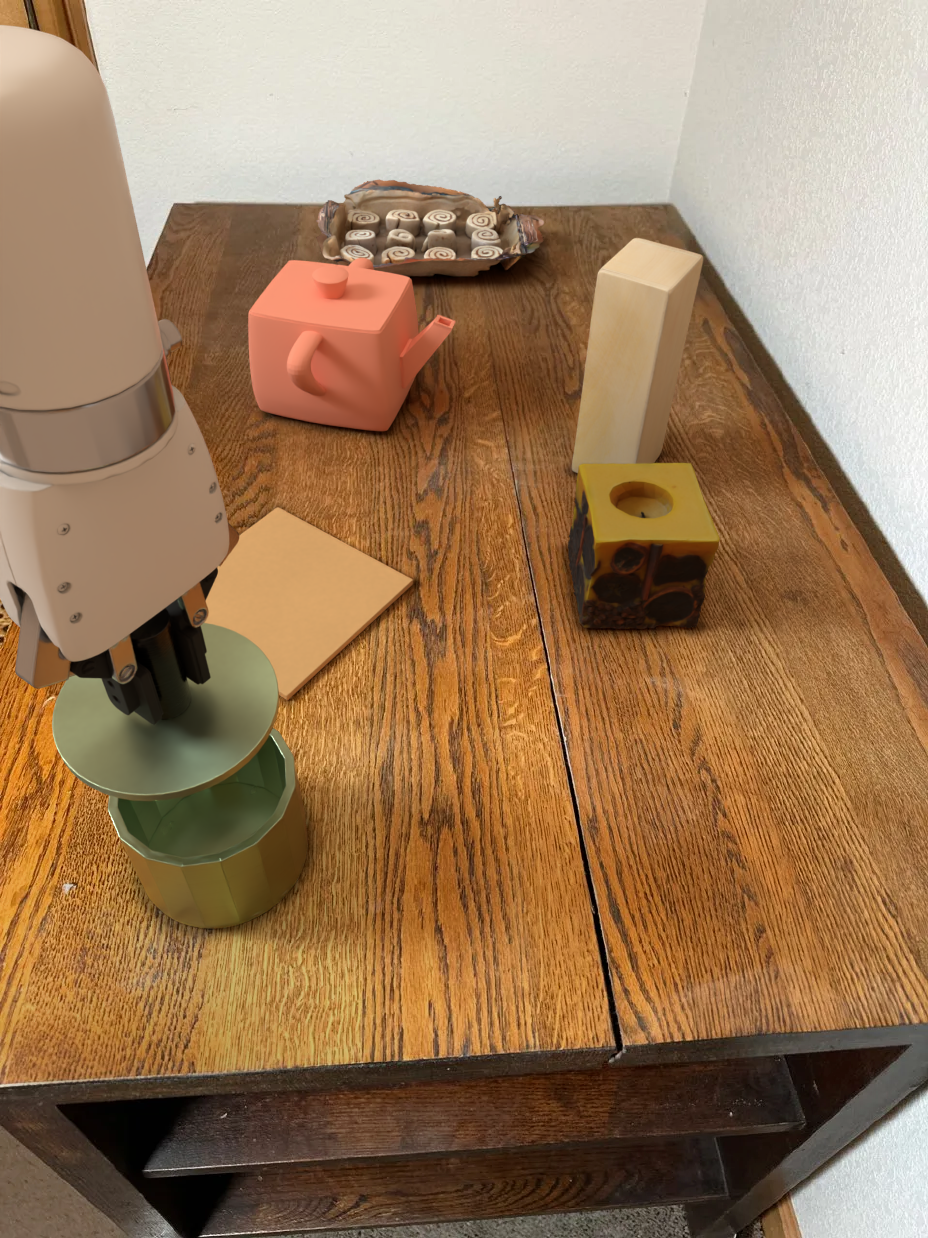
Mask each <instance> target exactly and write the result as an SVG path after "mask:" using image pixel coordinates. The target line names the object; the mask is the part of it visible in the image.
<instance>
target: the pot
mask: <svg viewBox="0 0 928 1238" xmlns="http://www.w3.org/2000/svg"><path fill="white" fill-rule="evenodd" d="M107 812H108V815H109V817H110V819H111V822H112V824H113V826H114V829H115V831H116V834H117V836H118V839H119V841H120V842H121V845H122V847H123V849H124V850H125V853H126V855H127V857H128V860H129V861H130V863H131V866H132V867H133V869H134V872H135V873H136V876H137V878H138V879H139V881H140V883H141V886H142V887H143V890H144V892H145V894H146V896H147V898H148V900H149V901H150V902H152V903H153V905H154V906H155V907H156V908H157V910H159V911H160V912H161V913H163V914H164V915H165V916H167V917H168V918H170V919H171V920H173V921H176V922H178V923H180V924H183V925H185V926H189V927H194V928H199V929H210V930H211V929H227V928H229V927H235V926H238V925H239V926H240V925H242V924H244V923H248V922H250V921H253V920H254V919H257V918H259V917H260V916H262V915H263V914H265V913H267V912H269V911H270V910H271V909H272V908H274V907H275V906H276V905H278V904H279V903H280V902H281V901H282V900H283V899H284V898H285V897H286V896H287V895H288V893H289V892H290V891H291V890H292V889H293V887H294V886H295V884H296V883H297V881H298V879H299V878H300V876H301V875H302V871H303V869H304V867H305V863H306V859H307V856H308V850H309V837H308V828H307V818H306V813H305V807H304V803H303V797H302V792H301V787H300V781H299V776H298V770H297V765H296V759H295V757H294V754H293V752H292V751H291V748H290V747H289V746H288V744H287V741H285V739H284V737H283V736H282V734H281V732H280V731H278V730H277V729H276V728H274V727H273V729H272V731H271V733H270V735H269V737H268V738H267V740H266V742H265V743H264V745H263V746H262V747H261V749H260V750H259V751H258V752H257V754H256V755H255V756H254V757H253V758H252V759H251V760H250V761H249V762H248V763H247V764H245V765H244V766H243V767H242V768H241V769H239V770H238V771H237V772H236V773H234V774H233V775H231V776H230V777H228V778H227V779H225V780H223V781H221V782H219V783H218V784H216V785H214V786H212V787H210V788H207V789H205V790H202V791H199V792H197V793H194V794H190V795H187V796H183V797H180V798H174V799H168V800H158V801H136V800H128V799H122V798H117V797H114V796H110V795H108V803H107Z"/></svg>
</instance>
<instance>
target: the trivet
mask: <svg viewBox="0 0 928 1238" xmlns="http://www.w3.org/2000/svg"><path fill="white" fill-rule="evenodd" d="M217 568H218V574H217V577H216V579H215V581H214V584H213V586H212V588H211V590H210V592H209V594H208V597H207V599H206V604H207V607H208V611H209V614H208V617H207V619H206V621H205V622H204V623H208V624H214V625H217V626H221V627H225V628H227V629H230V630H232V631H235V632H237V633H239V634H241V635H242V636H244V637H246V638H247V639H249V640H250V641H252V642H253V643H254V644H255V645H256V646H257V647H258V648H260V649H261V650H262V651H263V653H264V654H265V655H266V657H267V658H268V659H269V661H270V663H271V665H272V667H273V669H274V671H275V675H276V678H277V682H278V689H279V697H281V698H283V699H284V700H285V701H289V700H290V699H291V698H292V697H293V696H294V695H296V693H298V691H300V690H301V689H302V688H303V687H304V686H305V685H306V684H307V683H308V682H309V681H310V680H311V679H313V678H314V676H316V675H317V674H318V673H319V672H320V671H321V670H322V669H323V668H325V667H326V665H328V664H329V663H330V662H331V661H332V660H333V659H334V658H335V657H336V656H337V655H339V653H341V652H342V651H343V650H344V649H345V648H346V647H347V646H348V645H349V644H350V643H352V641H353V640H355V639H356V638H357V637H358V636H359V635H360V634H361V633H362V632H363V631H364V630H366V628H367V627H369V626H370V625H371V624H372V623H373V622H374V621H375V620H377V618H378V617H379V616H380V615H382V614H383V613H384V612H385V611H386V610H387V609H388V608H389V607H390V606H392V604H393V603H395V602H396V601H397V600H398V599H399V598H400V597H401V596H402V595H403V594H404V593H405V592H407V590H409V588H411V587H412V586H413V585H414V579H413V578H412V577H409V576H407V575H405V574H404V573H402V572H400V571H398V570H397V569H394V568H392V567H390V566H388V565H387V564H385V563H383V562H381V561H379V560H377V559H375V557H371V556H370V555H368V554H366V553H364V552H362V551H360V550H359V549H356V548H355V547H354V546H351V545H349V544H348V543H346V542H344V541H342V540H341V539H338V538H337V537H335V536H333V535H331V534H329V533H327V532H325V531H323V530H321V529H320V528H318V527H316V526H314V525H312V524H310V523H309V522H307V521H305V520H303V519H301V518H299V517H297V516H296V515H294V514H292V513H290V512H288V511H287V510H284V509H282V508H281V507H278V506H277V507H275V508H274V509H272V510H271V511H270V512H268V513H267V514H266V515H264V516H263V517H262V518H261V519H260V520H259V519H258V521H257V522H255V523H254V524H253V525H251V526H250V527H248V528H247V529H246V530H245V531H243V532H242V533H241V534H239V541H238V543H237V544H236V546H235V547H234V549H233V550H232V551H231V553H230V554H229V555H228V557H227V558H226V559H225V561H224V562H223V564H222V565H221V566H218V567H217Z"/></svg>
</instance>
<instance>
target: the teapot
mask: <svg viewBox="0 0 928 1238" xmlns="http://www.w3.org/2000/svg"><path fill="white" fill-rule="evenodd" d="M247 315H248V319H247V322H248V323H247V325H248V327H247V329H248V332H247V333H248V359H249V371H250V376H251V377H250V378H251V385H252V391H253V392H252V393H253V395H254V398H255V401H256V404H257V406H258V409H259V410H260V411H262V412H264V413H268V414H270V415H271V414H272V415H276V416H281V417H284V418H288V419H294V420H300V421H304V422H309V423H314V424H320V425H325V426H332V427H340V428H347V429H355V430H363V431H371V432H372V431H373V432H386V431H388V430H389V429H390V427H391V426H392V424H393V423H394V421H395V419H396V417H397V415H398V414H399V412H400V409H401V408H402V406H403V404H404V402H405V400H406V398H407V396H408V394H409V392H410V390H411V387H412V385H413V383H414V381H415V378H416V376H417V374H418V373H419V372H420V371H421V369H422V368H423V367H424V366H425V365H426V363H427V362H428V361H429V359H430V358H431V357H432V356H433V355H434V353H435V352H436V351H437V350H438V349H439V347H440V346H441V345H442V343H443V342H444V341H445V340H446V338H448V336H449V335H450V334H451V333H452V331H453V329H454V327H455V325H456V320H454V319H451V318H449V317H447V316H444V315H441V314H437V315H436V317H435V318H434V319H433V320H431V322H430V323H428V324H427V326H426V327H424V329H422V330H421V331H419V321H418V320H419V319H418V312H417V305H416V298H415V292H414V285H413V280H412V278H410V276H403V275H399V274H393V273H388V272H382V271H376V270H374V267H373V263H372V262H371V261H370V260H369V259H367V258H357V259H355V260H354V261H353V262H352V263H351V264H348V266H344V265H338V264H337V263H336V264H335V263H327V262H320V261H311V260H309V261H308V260H299V259H295V260H294V259H291V260H290V259H289V260H288V261H287V263H285V264H284V266H283V267H282V268H281V269H280V270H279V271H278V273H277V274H276V275H275V276H274V278H273V279H272V280H271V281H270V283H269V284H268V285H267V286H266V288H264V290H263V292H261V294H260V295H259V296H258V298H257V299H256V301H255V302H254V304H253V305H252V306H251V307H250V309H249V311H248V314H247Z"/></svg>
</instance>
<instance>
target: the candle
mask: <svg viewBox="0 0 928 1238" xmlns="http://www.w3.org/2000/svg"><path fill="white" fill-rule="evenodd" d="M701 489H702V488H701V486H700V484H699V480H698V478H697V475H696V471H695V469H694V467H693V464H692V463H691V462H654V463H640V464H616V463H609V464H581V465H579V468H578V473H577V476H576V485H575V497H574V507H573V516H572V522H571V526H570V529H569V534H568V538H569V539H568V541H567V550H568V551H567V552H568V560H569V564H568V566H569V570H570V571H571V572H570V576H571V580H572V585H573V586H572V587H573V590H574V592H573V594H574V597H575V600H576V606H577V611H578V616H579V619H578V623H579V624H580V625H581V626H582V627H583V628H584V629H608V628H609V629H615V630H616V629H617V630H619V629H622V630H623V629H637V630H644V629H655V628H656V627H658V626H666V627H667V626H668V627H678V628H687V629H690V628H697V627H698V624H699V620H700V616H701V612H702V606H703V604H704V602H705V599H706V589H707V587H706V586H707V584H706V582H707V575H708V572H709V569H710V567H711V566H712V564H713V563H714V560H715V556H716V553H717V551H718V549H719V548H720V540H721V538H720V535H719V532H718V529H717V527H716V526H715V522H714V520H713V518H712V515H711V513H710V511H709V509H708V506H707V503H706V500H705V497H704V495H703V492H702V490H701Z"/></svg>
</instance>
